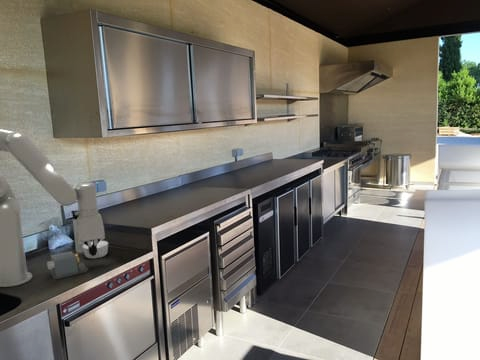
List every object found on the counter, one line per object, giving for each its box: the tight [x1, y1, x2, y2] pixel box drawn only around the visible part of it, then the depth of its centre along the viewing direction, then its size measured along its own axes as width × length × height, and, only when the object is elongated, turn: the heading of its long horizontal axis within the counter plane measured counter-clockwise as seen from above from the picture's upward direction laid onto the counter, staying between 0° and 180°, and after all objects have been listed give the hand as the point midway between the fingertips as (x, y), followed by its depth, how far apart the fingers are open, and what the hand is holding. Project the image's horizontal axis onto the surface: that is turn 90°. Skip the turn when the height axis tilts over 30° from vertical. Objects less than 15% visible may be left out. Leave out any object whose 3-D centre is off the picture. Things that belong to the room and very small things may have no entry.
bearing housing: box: [49, 250, 89, 280], centre depth 168 cm, size 13×9×7 cm
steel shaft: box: [46, 252, 81, 270], centre depth 167 cm, size 11×5×5 cm, turn 123°
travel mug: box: [71, 209, 85, 255], centre depth 191 cm, size 6×7×20 cm
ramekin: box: [82, 240, 109, 260], centre depth 188 cm, size 11×11×5 cm
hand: (93, 254), depth 174 cm, fingers closed
